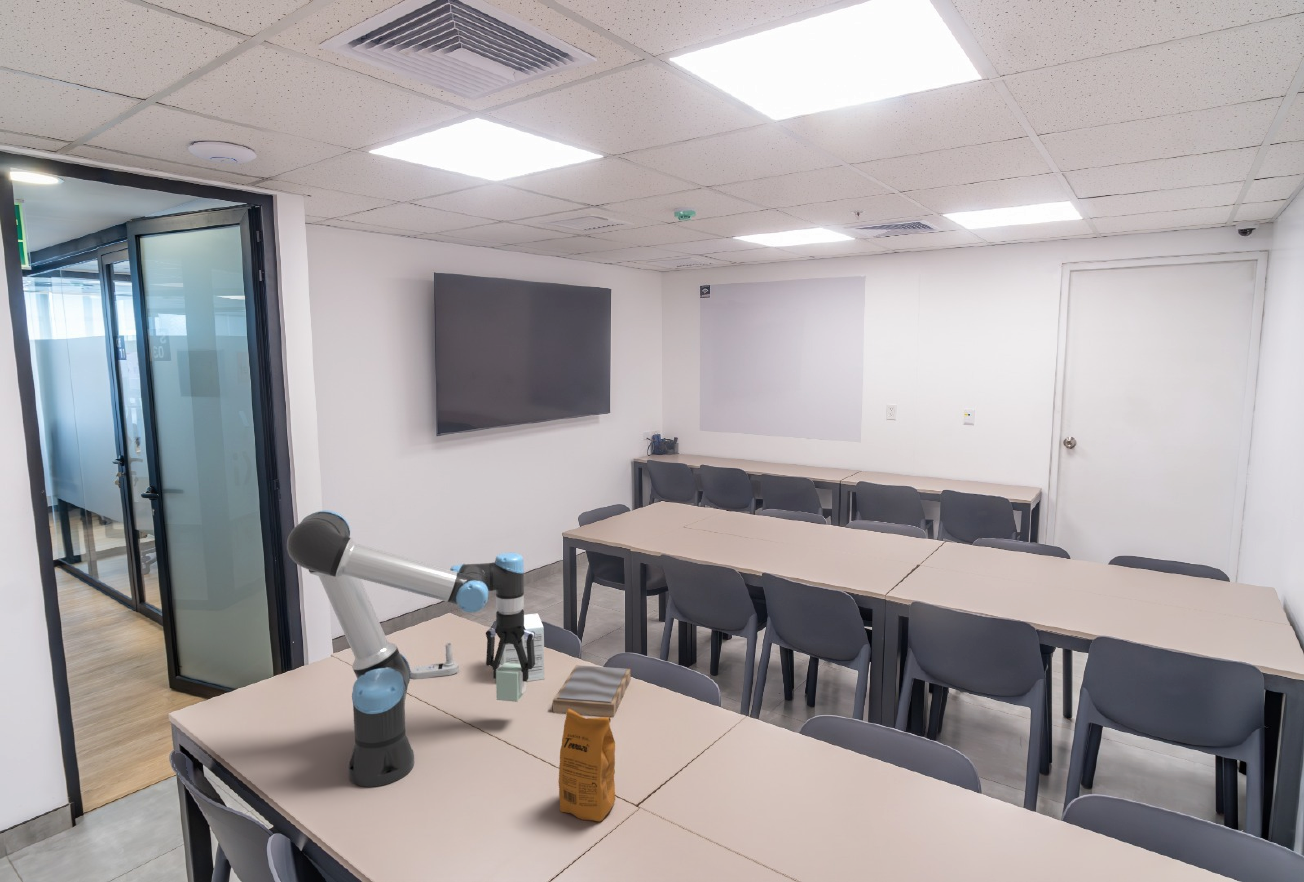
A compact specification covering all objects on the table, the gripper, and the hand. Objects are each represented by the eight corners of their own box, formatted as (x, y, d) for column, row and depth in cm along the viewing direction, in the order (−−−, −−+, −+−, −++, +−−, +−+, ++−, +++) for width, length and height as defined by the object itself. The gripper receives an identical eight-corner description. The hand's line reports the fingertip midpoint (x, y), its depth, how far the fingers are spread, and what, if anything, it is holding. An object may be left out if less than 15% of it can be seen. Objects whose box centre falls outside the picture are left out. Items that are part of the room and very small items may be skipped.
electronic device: (409, 645, 220) (457, 640, 224) (411, 674, 222) (459, 668, 225) (407, 652, 215) (456, 646, 219) (409, 681, 216) (458, 675, 220)
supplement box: (499, 668, 225) (498, 617, 223) (539, 662, 229) (538, 612, 227) (503, 685, 212) (501, 631, 211) (545, 679, 216) (544, 626, 215)
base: (613, 717, 192) (613, 703, 192) (553, 712, 195) (552, 698, 195) (630, 679, 216) (630, 667, 215) (576, 675, 219) (576, 664, 218)
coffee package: (575, 787, 159) (573, 698, 157) (621, 801, 154) (620, 709, 152) (551, 811, 151) (549, 717, 148) (599, 827, 145) (598, 730, 143)
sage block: (517, 701, 184) (517, 673, 184) (496, 699, 185) (496, 671, 185) (525, 691, 190) (524, 664, 190) (504, 690, 191) (504, 662, 191)
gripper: (547, 607, 188) (548, 687, 190) (483, 603, 191) (484, 682, 193) (538, 617, 180) (539, 700, 182) (471, 612, 183) (473, 694, 186)
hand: (510, 690), depth 188 cm, fingers closed on sage block, 6 cm apart
